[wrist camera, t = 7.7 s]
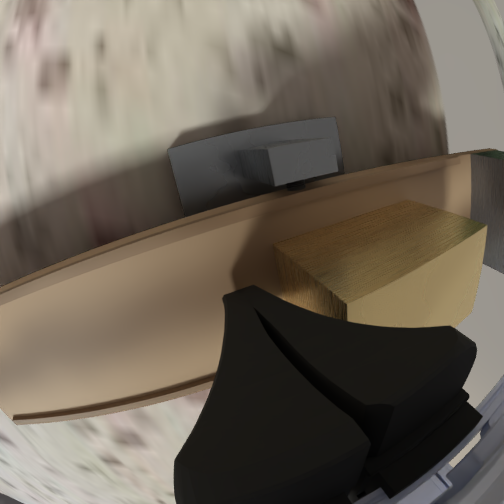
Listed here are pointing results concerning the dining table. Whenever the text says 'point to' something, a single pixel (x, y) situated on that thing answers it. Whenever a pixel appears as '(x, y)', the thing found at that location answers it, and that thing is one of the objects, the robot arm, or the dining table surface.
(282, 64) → the dining table surface
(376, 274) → the block
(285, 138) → the pivot stand
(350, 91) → the dining table surface
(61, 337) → the beam
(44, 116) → the dining table surface
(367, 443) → the robot arm
